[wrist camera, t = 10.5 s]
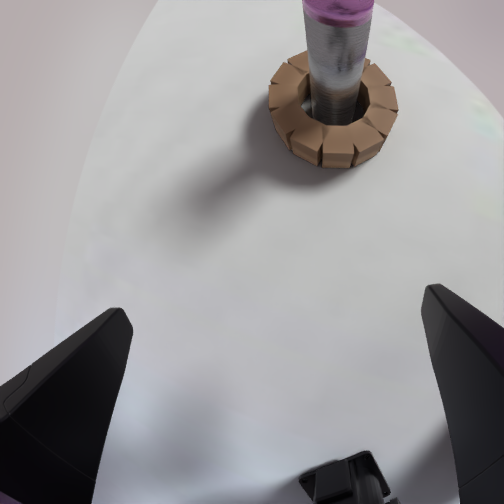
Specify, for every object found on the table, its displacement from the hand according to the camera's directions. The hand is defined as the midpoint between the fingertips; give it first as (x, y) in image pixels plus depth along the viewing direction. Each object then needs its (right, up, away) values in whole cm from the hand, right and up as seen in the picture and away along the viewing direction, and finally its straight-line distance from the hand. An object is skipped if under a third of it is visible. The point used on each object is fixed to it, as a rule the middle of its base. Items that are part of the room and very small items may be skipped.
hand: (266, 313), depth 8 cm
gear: (+6, +12, +13) cm, 19 cm away
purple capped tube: (+6, +12, +13) cm, 19 cm away
